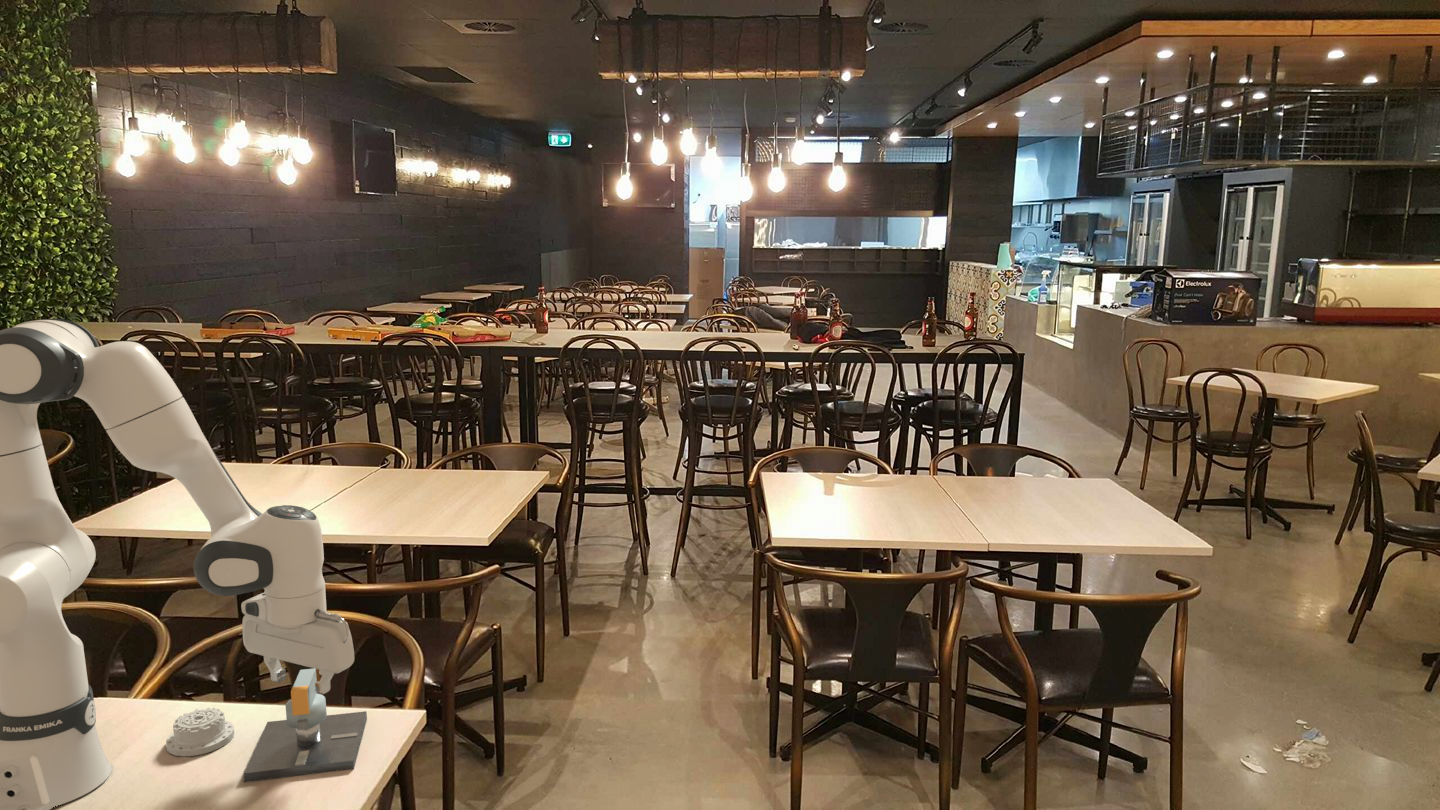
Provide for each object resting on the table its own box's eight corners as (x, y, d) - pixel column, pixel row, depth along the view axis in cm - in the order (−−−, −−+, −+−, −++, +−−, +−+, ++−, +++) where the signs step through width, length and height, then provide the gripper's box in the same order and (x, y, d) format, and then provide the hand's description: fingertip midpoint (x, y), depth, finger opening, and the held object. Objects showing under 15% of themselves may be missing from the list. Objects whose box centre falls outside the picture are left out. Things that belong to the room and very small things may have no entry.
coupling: (292, 709, 156) (288, 670, 155) (330, 705, 158) (327, 666, 156) (282, 733, 149) (278, 692, 147) (322, 729, 150) (319, 688, 149)
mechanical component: (152, 754, 153) (206, 761, 151) (149, 729, 152) (203, 736, 150) (196, 724, 162) (247, 730, 160) (194, 700, 161) (245, 706, 160)
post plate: (244, 782, 145) (241, 752, 144) (268, 729, 160) (265, 702, 159) (353, 769, 148) (351, 740, 147) (366, 719, 164) (365, 692, 163)
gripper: (361, 609, 149) (365, 690, 151) (265, 589, 156) (269, 666, 158) (332, 623, 143) (335, 707, 145) (233, 601, 150) (238, 682, 153)
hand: (300, 685), depth 152 cm, fingers open, 8 cm apart
